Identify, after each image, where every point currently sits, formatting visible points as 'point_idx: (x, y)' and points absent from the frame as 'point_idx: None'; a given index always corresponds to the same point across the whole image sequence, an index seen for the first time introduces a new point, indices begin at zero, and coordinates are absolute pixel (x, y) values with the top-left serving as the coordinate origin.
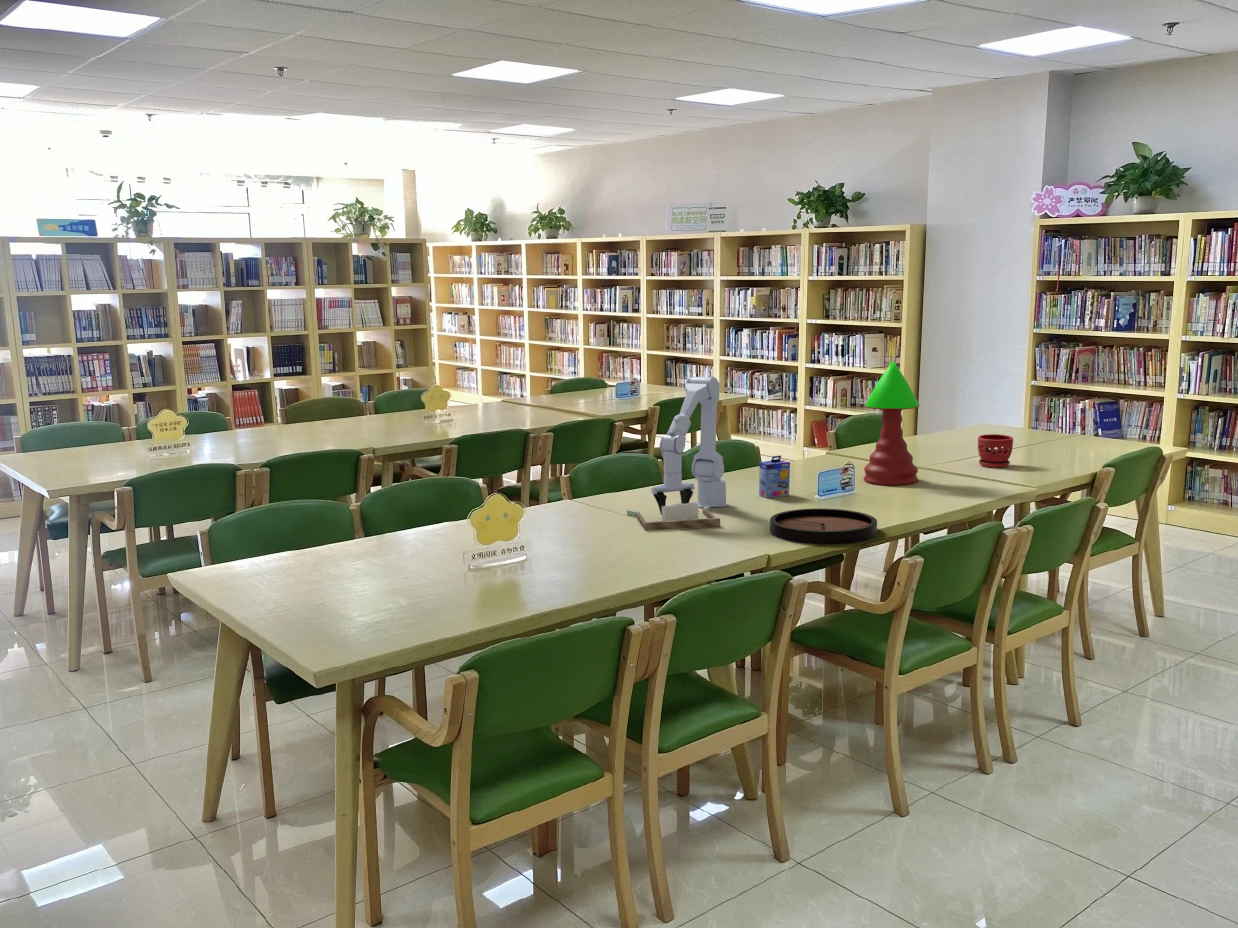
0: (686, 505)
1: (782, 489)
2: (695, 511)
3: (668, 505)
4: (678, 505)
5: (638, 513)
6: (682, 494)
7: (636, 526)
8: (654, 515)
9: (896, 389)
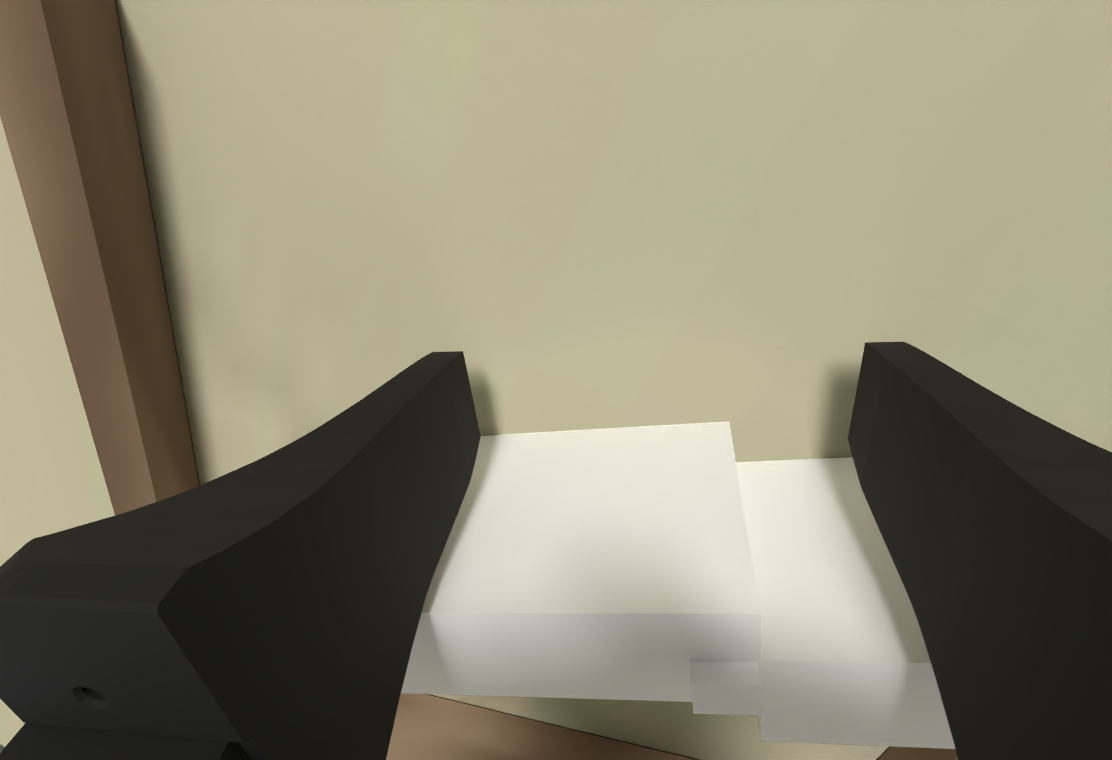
0: (773, 739)
1: None
2: None
3: (476, 626)
4: (643, 695)
5: (37, 121)
6: (1055, 675)
7: (108, 509)
8: (413, 16)
9: None
